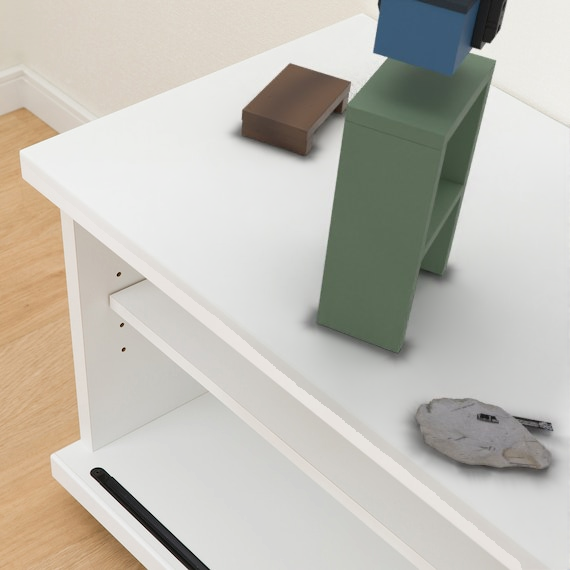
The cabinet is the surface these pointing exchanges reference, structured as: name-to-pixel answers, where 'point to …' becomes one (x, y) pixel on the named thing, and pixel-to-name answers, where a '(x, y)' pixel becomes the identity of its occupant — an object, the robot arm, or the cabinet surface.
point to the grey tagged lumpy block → (482, 434)
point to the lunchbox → (426, 32)
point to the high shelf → (398, 192)
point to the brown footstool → (294, 108)
